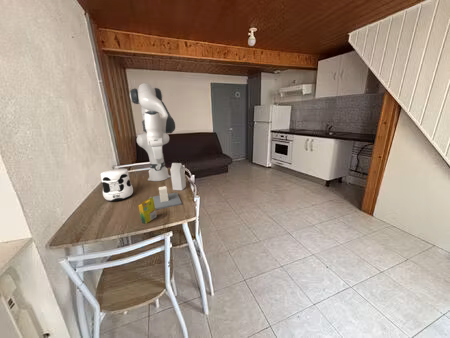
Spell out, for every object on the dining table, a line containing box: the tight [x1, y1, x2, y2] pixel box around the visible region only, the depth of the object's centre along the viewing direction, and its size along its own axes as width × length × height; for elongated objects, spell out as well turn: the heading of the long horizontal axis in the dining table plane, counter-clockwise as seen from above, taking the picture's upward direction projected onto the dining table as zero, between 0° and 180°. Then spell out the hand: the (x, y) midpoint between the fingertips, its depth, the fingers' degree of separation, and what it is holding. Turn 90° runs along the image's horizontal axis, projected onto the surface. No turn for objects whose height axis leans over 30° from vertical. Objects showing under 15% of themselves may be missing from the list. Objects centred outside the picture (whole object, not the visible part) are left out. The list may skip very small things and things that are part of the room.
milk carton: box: [169, 162, 187, 191], centre depth 134 cm, size 7×7×19 cm
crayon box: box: [138, 196, 158, 225], centre depth 94 cm, size 7×3×12 cm, turn 155°
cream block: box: [158, 185, 169, 202], centre depth 115 cm, size 4×4×8 cm
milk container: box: [100, 168, 134, 202], centre depth 123 cm, size 17×17×18 cm
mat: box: [148, 191, 182, 211], centre depth 116 cm, size 18×18×1 cm
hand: (159, 164), depth 110 cm, fingers open, 8 cm apart
